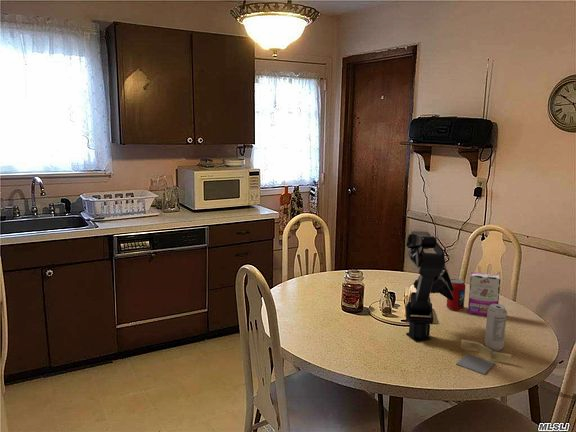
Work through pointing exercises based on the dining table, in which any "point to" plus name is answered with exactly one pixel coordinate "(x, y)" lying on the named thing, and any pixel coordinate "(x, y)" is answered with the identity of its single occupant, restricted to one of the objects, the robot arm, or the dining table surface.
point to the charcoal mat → (475, 364)
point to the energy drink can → (495, 327)
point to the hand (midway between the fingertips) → (452, 295)
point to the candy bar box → (483, 292)
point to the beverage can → (457, 295)
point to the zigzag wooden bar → (486, 352)
